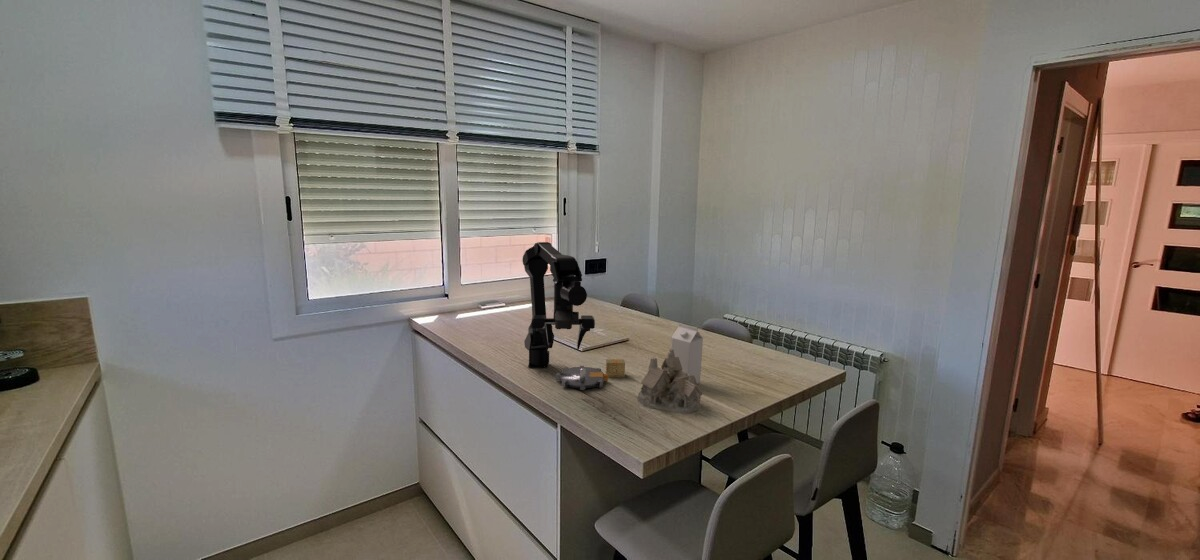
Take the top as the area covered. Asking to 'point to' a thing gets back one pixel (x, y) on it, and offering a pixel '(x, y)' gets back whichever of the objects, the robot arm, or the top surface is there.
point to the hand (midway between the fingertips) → (562, 349)
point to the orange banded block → (615, 367)
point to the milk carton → (688, 349)
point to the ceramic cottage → (670, 387)
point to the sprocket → (582, 377)
